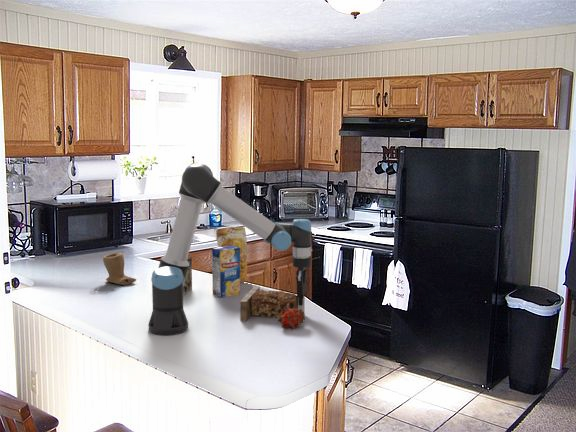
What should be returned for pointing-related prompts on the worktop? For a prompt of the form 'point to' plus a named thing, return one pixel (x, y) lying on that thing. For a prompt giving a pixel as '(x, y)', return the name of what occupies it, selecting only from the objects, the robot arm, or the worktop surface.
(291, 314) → the dragon fruit
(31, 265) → the worktop surface
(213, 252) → the beverage box
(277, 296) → the bread
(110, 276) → the tan boot figurine
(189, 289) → the coffee box
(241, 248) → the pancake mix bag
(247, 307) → the walnut board
